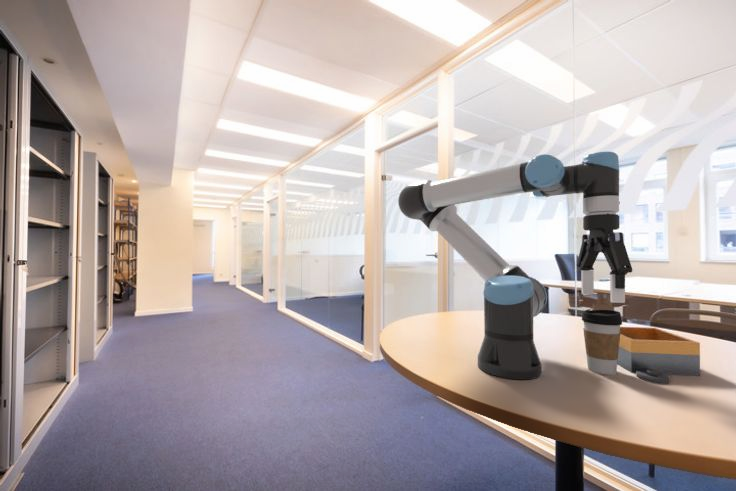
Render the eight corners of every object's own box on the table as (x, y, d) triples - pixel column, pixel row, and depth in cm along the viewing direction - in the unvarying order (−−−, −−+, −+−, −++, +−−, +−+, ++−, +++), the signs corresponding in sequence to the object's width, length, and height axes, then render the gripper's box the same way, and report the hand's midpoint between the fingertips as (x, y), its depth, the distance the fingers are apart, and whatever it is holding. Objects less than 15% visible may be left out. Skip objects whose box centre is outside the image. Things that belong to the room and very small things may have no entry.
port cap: (647, 384, 75) (647, 374, 75) (630, 374, 81) (630, 365, 81) (676, 386, 74) (676, 376, 74) (657, 375, 80) (657, 366, 80)
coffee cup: (630, 378, 78) (629, 315, 78) (590, 375, 80) (590, 313, 80) (611, 365, 86) (611, 308, 86) (576, 363, 88) (575, 307, 88)
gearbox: (631, 372, 82) (631, 340, 82) (598, 353, 96) (598, 326, 97) (700, 375, 79) (699, 342, 79) (655, 355, 94) (655, 327, 94)
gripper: (652, 208, 71) (652, 307, 70) (591, 218, 95) (591, 291, 95) (613, 209, 72) (614, 306, 71) (563, 219, 96) (563, 291, 96)
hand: (601, 298), depth 83 cm, fingers open, 13 cm apart
